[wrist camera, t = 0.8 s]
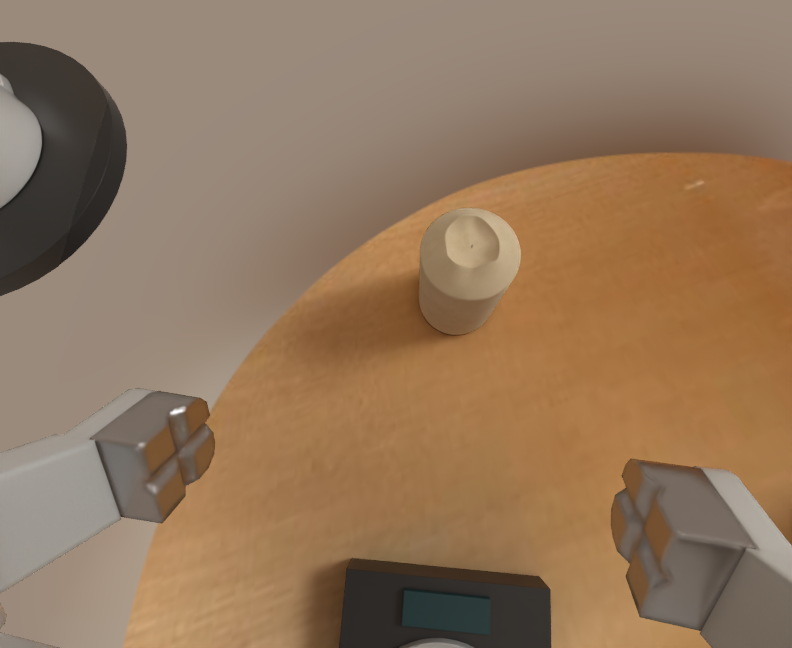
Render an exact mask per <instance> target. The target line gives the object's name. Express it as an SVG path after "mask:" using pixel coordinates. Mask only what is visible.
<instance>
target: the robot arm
mask: <svg viewBox="0 0 792 648" xmlns="http://www.w3.org/2000/svg"><path fill="white" fill-rule="evenodd" d="M41 148H42V132H41V128H40V124H39V122H38V120H37V118H36V116H35V115H34V113H33V112H32V111H31V110H30V109H29V108H28V107H27V106H26V105H25V104H23V103H22V102H21V101H20V100H18V99H17V98H16V96H15V95H14V92H13V89H12V87H11V84H10V82H9V81H8V79H7V78H5V77H4V76H3V75H1V74H0V208H1V207H3V206H4V205H5V204H7V203H8V202H9V201H10V200H11V199H13V198H14V197H15V196H16V195H17V194H18V193H19V191H20V190H21V189H22V188H23V187H24V186H25V184H26V183H27V181H28V180H29V179H30V177H31V175H32V174H33V172H34V170H35V168H36V165H37V163H38V160H39V157H40V153H41ZM209 416H210V413H209V409H208V405H207V402H206V401H204V400H203V399H201V398H198V397H192V396H186V395H179V394H174V393H168V392H161V391H153V390H147V389H141V388H135V389H129V390H127V391H125V392H124V393H123V394H121V395H120V396H118V397H117V398H115V399H114V400H112V401H111V402H110V403H108V404H107V405H105V406H104V407H102V408H101V409H100V410H98V411H97V412H95V413H94V414H92V415H91V416H89V417H88V418H87V419H85V420H84V421H82V422H81V423H79V424H78V425H76V426H75V427H74V428H72V429H71V430H69V431H68V432H66V433H65V434H64V435H58V434H54V435H51V436H48V437H45V438H42V439H40V440H36V441H33V442H30V443H27V444H24V445H22V446H19V447H16V448H13V449H10V450H7V451H4V452H1V453H0V594H1V593H2V592H4V591H5V590H7V589H9V588H10V587H12V586H14V585H15V584H17V583H18V582H20V581H22V580H23V579H25V578H27V577H28V576H30V575H31V574H33V573H35V572H36V571H38V570H40V569H41V568H43V567H44V566H46V565H48V564H49V563H51V562H53V561H54V560H56V559H57V558H59V557H61V556H62V555H64V554H66V553H67V552H69V551H71V550H72V549H74V548H75V547H77V546H79V545H80V544H82V543H83V542H85V541H87V540H88V539H90V538H92V537H93V536H95V535H97V534H98V533H100V532H101V531H103V530H105V529H106V528H108V527H110V526H111V525H113V524H114V523H116V522H118V521H119V520H121V517H126V518H131V519H137V520H144V521H150V522H156V523H163V522H164V521H165V520H166V518H167V517H168V516H169V515H170V514H171V513H172V511H173V510H174V509H175V508H176V507H177V505H178V504H179V503H180V502H181V501H182V499H183V498H184V497H185V496H186V485H188V484H190V483H192V482H194V481H196V480H198V479H200V478H201V477H202V475H203V474H204V473H205V472H206V470H207V469H208V468H209V465H210V463H211V460H212V458H213V456H214V450H215V439H214V433H213V432H212V431H211V429H210V428H209V427H208V426H207V425H206V424H205V422H206V421H207V419H208V418H209ZM622 478H623V480H624V483H625V485H626V488H625V489H623V490H622V491H620V492H619V493H617V494H616V495H615V498H614V501H613V505H612V508H611V529H612V535H613V540H614V543H615V546H616V549H617V551H618V552H619V553H620V554H621V555H622V556H623V557H624V558H625V559H626V560H627V561H628V562H629V563H630V566H629V568H628V571H627V574H626V579H627V582H628V584H629V587H630V590H631V593H632V596H633V599H634V602H635V605H636V608H637V610H638V613H639V616H640V617H641V618H646V619H650V620H655V621H659V622H664V623H668V624H673V625H677V626H682V627H686V628H691V629H695V630H699V631H701V632H700V634H701V636H702V637H703V638H704V639H705V640H706V641H707V642H708V644H709V645H710V646H711V647H712V648H792V546H791V544H790V543H789V542H788V541H787V539H786V538H785V537H784V535H783V534H782V533H781V532H780V530H779V529H778V528H777V526H776V525H775V524H774V523H773V521H772V520H771V519H770V518H769V516H768V515H767V514H766V512H765V511H764V510H763V509H762V507H761V506H760V505H759V503H758V502H757V501H756V500H755V498H754V497H753V496H752V494H751V493H750V492H749V491H748V489H747V488H746V487H745V486H744V484H743V483H742V482H741V480H740V479H739V478H738V477H737V476H736V475H735V474H733V473H732V472H730V471H729V470H722V469H714V468H705V467H697V466H694V467H690V466H682V465H675V464H668V463H660V462H653V461H645V460H638V459H630V460H629V461H628V462H627V463H626V465H625V467H624V470H623V473H622ZM6 616H7V614H6V613H5V611H4V609H3V607H2V606H1V604H0V628H1V627H2V626H3V625H4V624H5V621H6ZM0 648H58V647H55V646H51V645H47V644H43V643H39V642H35V641H31V640H28V639H24V638H20V637H16V636H12V635H9V634H5V633H1V632H0Z"/></svg>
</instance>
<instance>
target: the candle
mask: <svg viewBox="0 0 792 648" xmlns="http://www.w3.org/2000/svg"><path fill="white" fill-rule="evenodd" d="M520 259H521V250H520V245H519V242H518V239H517V237H516V235H515V233H514V231H513V230H512V228H511V227H510V226H509V225H508V224H507V223H506V222H505V221H504V220H503V219H502V218H500V217H499V216H497V215H495V214H493V213H491V212H489V211H486V210H483V209H478V208H461V209H456V210H452V211H450V212H447V213H445V214H443V215H442V216H440V217H439V218H437V219H436V220H435V221H434V222H433V223H432V224H431V225H430V226H429V227H428V229H427V230H426V232H425V234H424V236H423V239H422V242H421V247H420V271H419V304H420V308H421V311H422V314H423V315H424V317H425V319H426V320H427V321H428V323H429V324H430V325H432V326H433V327H434V328H435V329H437V330H439V331H441V332H443V333H447V334H452V335H461V334H466V333H469V332H472V331H474V330H476V329H478V328H479V327H480V326H482V325H483V324H484V323H485V321H486V320H487V319H488V317H489V316H490V315H491V313H492V312H493V310H494V308H495V307H496V305H497V304H498V302H499V301H500V299H501V298H502V296H503V295H504V293H505V291H506V290H507V288H508V287H509V285H510V284H511V282H512V281H513V279H514V277H515V275H516V274H517V271H518V269H519V265H520Z"/></svg>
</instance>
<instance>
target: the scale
mask: <svg viewBox="0 0 792 648" xmlns="http://www.w3.org/2000/svg"><path fill="white" fill-rule="evenodd" d="M339 648H551V605H550V589H549V587H548V586H547V585H546V584H545V583H544V582H543V580H542V579H541V578H540V577H539V576H529V575H518V574H508V573H498V572H488V571H478V570H468V569H457V568H447V567H437V566H427V565H417V564H407V563H397V562H386V561H376V560H366V559H356V558H352V559H351V561H350V563H349V565H348V567H347V569H346V580H345V590H344V601H343V612H342V622H341V633H340V643H339Z"/></svg>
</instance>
